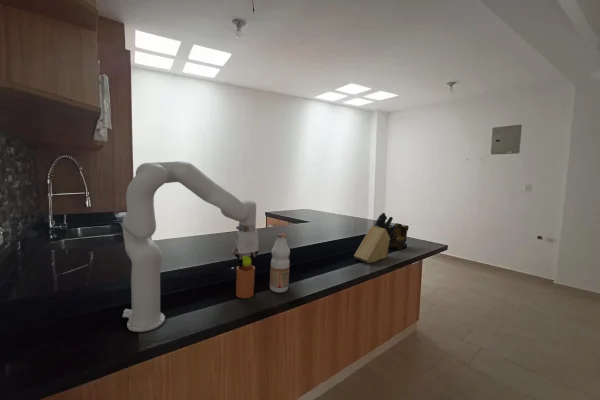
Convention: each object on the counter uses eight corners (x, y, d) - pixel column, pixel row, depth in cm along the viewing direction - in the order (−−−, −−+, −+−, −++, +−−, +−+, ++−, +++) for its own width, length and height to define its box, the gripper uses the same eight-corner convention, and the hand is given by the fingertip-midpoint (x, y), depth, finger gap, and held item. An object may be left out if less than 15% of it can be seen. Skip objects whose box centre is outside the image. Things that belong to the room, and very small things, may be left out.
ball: (239, 267, 134) (239, 257, 133) (242, 264, 139) (242, 253, 138) (250, 268, 134) (250, 258, 133) (252, 264, 139) (252, 254, 138)
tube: (233, 297, 134) (234, 270, 132) (238, 289, 142) (239, 264, 141) (251, 299, 134) (252, 271, 132) (255, 291, 142) (256, 265, 140)
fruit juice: (268, 292, 141) (271, 236, 138) (270, 284, 151) (273, 231, 147) (287, 293, 141) (290, 237, 138) (288, 285, 151) (291, 232, 147)
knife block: (394, 255, 212) (399, 213, 208) (367, 265, 188) (371, 218, 184) (380, 251, 220) (384, 211, 216) (352, 260, 196) (356, 215, 192)
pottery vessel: (393, 251, 221) (396, 226, 218) (380, 248, 228) (383, 223, 226) (409, 246, 237) (412, 223, 235) (397, 243, 245) (399, 220, 243)
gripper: (233, 231, 126) (232, 271, 128) (267, 228, 136) (265, 265, 138) (226, 227, 132) (225, 266, 134) (259, 224, 142) (258, 260, 144)
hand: (246, 265), depth 136 cm, fingers closed on ball, 5 cm apart
